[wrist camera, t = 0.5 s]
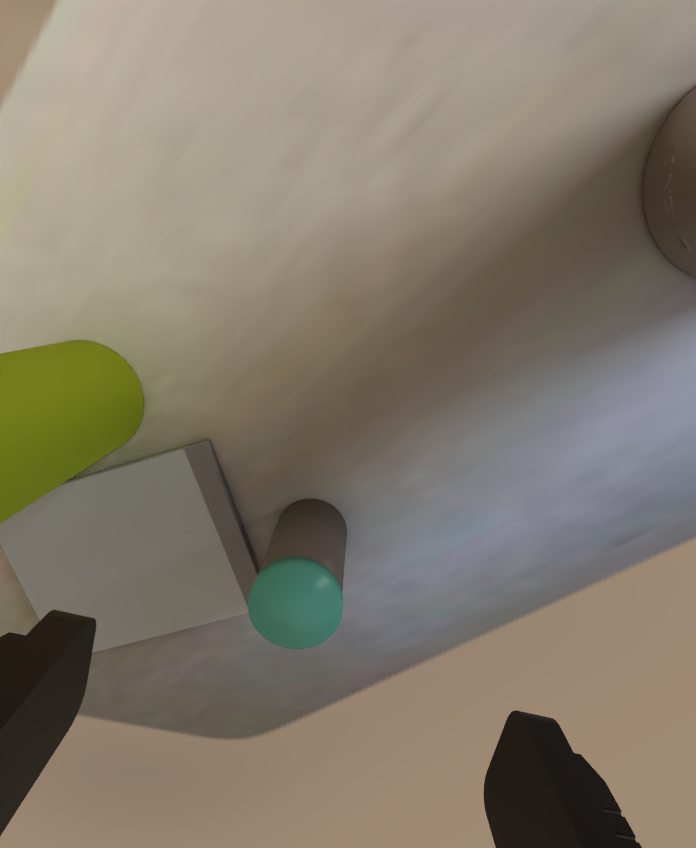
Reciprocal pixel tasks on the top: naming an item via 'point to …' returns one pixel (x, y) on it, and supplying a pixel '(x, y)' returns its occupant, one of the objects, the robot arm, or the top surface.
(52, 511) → the notepad
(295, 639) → the marker
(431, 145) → the top surface
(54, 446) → the soap dispenser
